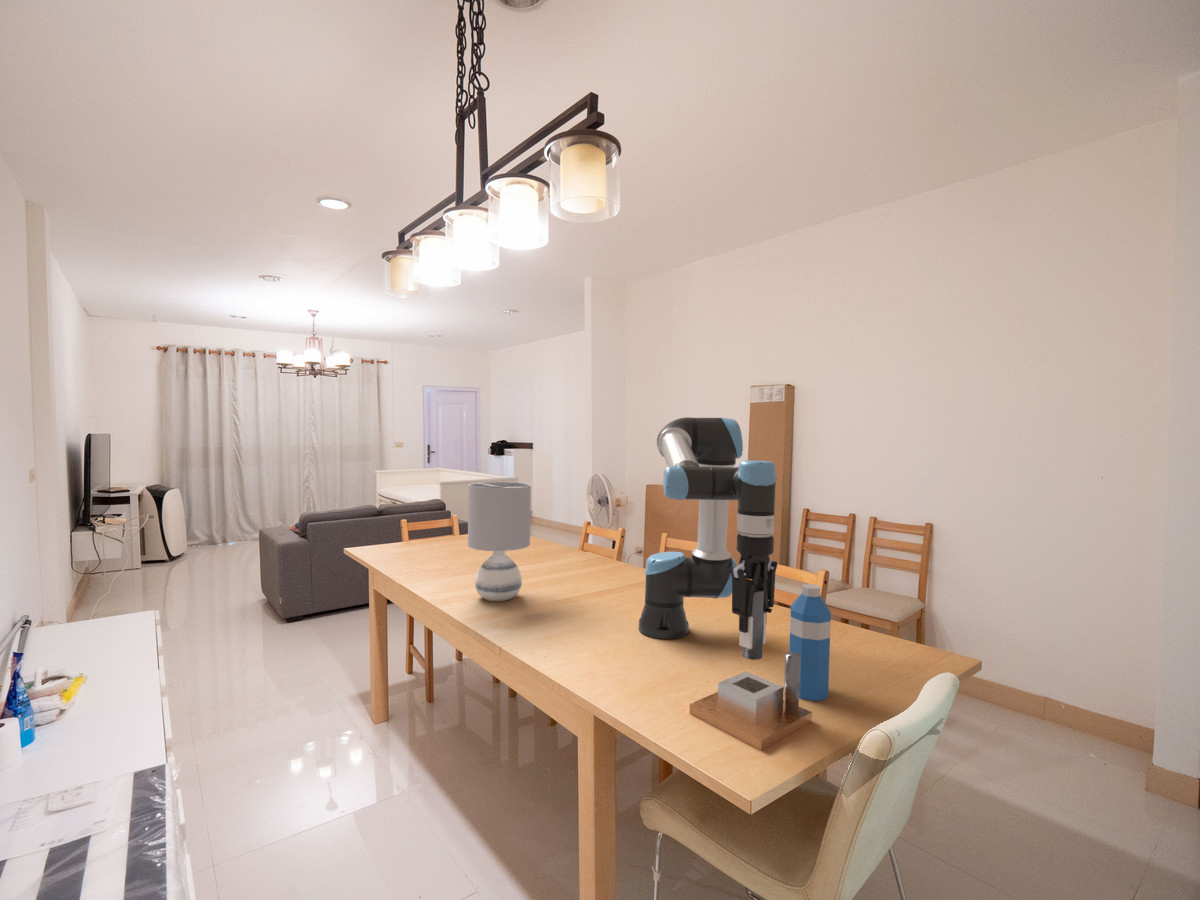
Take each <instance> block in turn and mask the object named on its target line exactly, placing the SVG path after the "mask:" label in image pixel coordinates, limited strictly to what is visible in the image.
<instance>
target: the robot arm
mask: <svg viewBox="0 0 1200 900" xmlns="http://www.w3.org/2000/svg"><path fill="white" fill-rule="evenodd" d="M737 421H738V420H735V419H734V418H729V417H690V416H688V417H687V416H685V417H681V418H677V419H674V420H672V421H670V422H669V423H667V424H665V425H664V426H663V427H662V429H660V431H659V432H658V435H657V438H656V448H657V450H658V452H659V454H660V455H661V457H663V458H664V461H665V464H666V467H665V469H664V471H663V481H662V482H663V483H662V486H663V495H664V497H666V498H667V499H670V500H671V499H673V500H679V501H684V500H688V501H689V500H691V501H692V500H693V501H694V500H695V501H697V500H698V523H697V545H696V547H695V548H694V549H693V550H692V551H691V557H686V555H685V553H683V552H682V551H681V552H680V551H662V552H658V553H654V554H651V555H649V557H647V559H646V561H645V562H646V563H645V571H644V575H645V584H644V589H645V591H644V605H643V608H642V612H641V615H640V618H639V620H638V631H639V633H641V634H642V635H645V636H647V637H650V638H654V639H659V640H660V639H661V640H662V639H663V640H673V639H674V640H675V639H679V638H683V637H685V636H687V635H688V634H689V633H690V631H689V630H690V629H689V628H690V627H689V621H688V619H687V616H686V615H687V614H686V610H685V608H684V600H685V599H684V598H705V599H707V598H708V599H721V598H724V599H726V598H729V597H730V596H731V614H735V615H736V616H738V625H739V626H738V631H739V642H738V646H740V647H742V648H743V647H746V648H748V649H752V636H753V617H751V616H750V614H751V607H752V600H753V594H754V588H757V589H761V590H764V604H763V641H762V645H765V644H766V637H767V620H768V619H767V618H768V615H767V614H768V613H769V614H771V613H772V612H773V610H772V608H773V607H774V606H775V588H776V586H775V585H776V571H777V568H778V562H777V561H774V560H771V559H770V556H771V555H773V554H774V549H775V547H774V546H775V544H774V543H775V537H774V536H773V534H774V533H775V512H776V511H775V509H776V508H775V507H776V482H777V474H776V473H777V472H776V465H775V463H774V462H773V461H770V460H769V461H768V460H750V459H749V460H742V461H740V463H739V465H738V466H736V464H737V463H736V461H737V460H738V459H741V458H742V457H743V452H744V451H743V450H744V446H743V445H744V443H743V442H744V441H743V433H742V431H741V427H740V425H739V422H737ZM729 501H737V518H736V519H737V520H736V531H737V532H738V534H737V535H736V551H737V552H739V554H740V557H739V561H738V565H737V561H736V560H735V559H734V558H732V554H731V552H730V551H729V550H728V549H727V542H728V541H727V539H728V519H729V517H728V516H729ZM745 610H746V611H745Z"/></svg>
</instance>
